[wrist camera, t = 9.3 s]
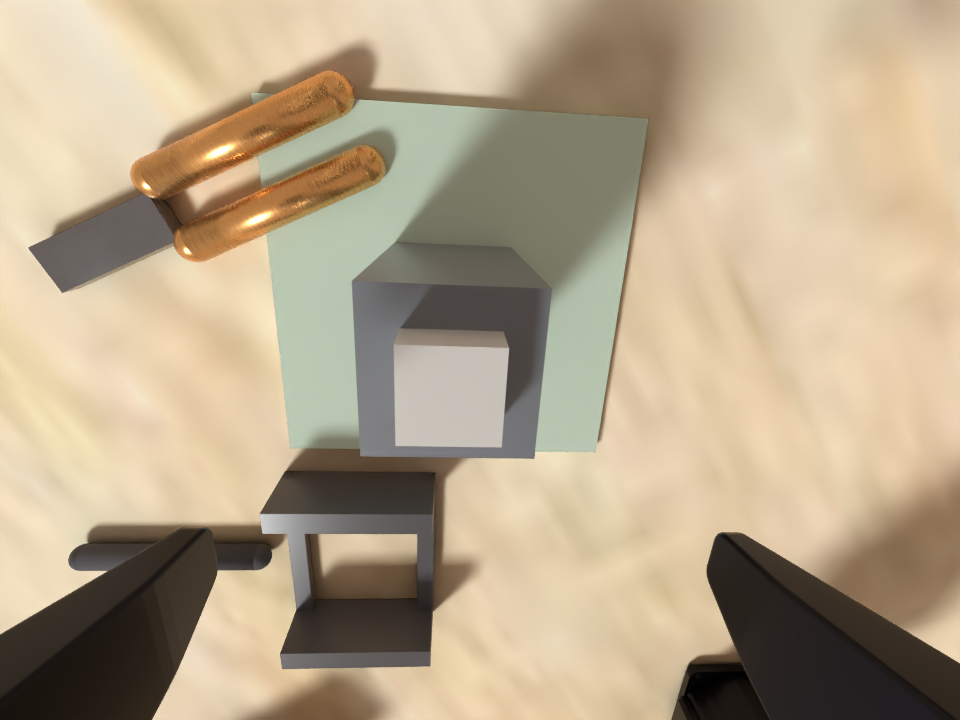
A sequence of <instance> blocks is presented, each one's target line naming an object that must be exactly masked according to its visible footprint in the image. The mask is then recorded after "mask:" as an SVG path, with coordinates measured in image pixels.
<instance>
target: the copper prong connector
mask: <svg viewBox="0 0 960 720" xmlns="http://www.w3.org/2000/svg"><path fill="white" fill-rule="evenodd" d="M354 100H355V96H354V90H353V88H352V85H351V83H350V82H349V81H348V79H347V78H346V77H345V76H343V75H342V74H340V73H339V72H336V71H331V70H329V71H324V72H321V73H319V74H317V75H315V76H313V77H311V78H308V79H306V80H304V81H302V82H300V83H298V84H296V85H294V86H292V87H289V88H287V89H285V90H283V91H281V92H279V93H277V94H275V95H273V96H271V97H268V98H266V99H264V100H262V101H260V102H258V103H256V104H254V105H252V106H249V107H247V108H245V109H243V110H241V111H239V112H237V113H235V114H233V115H231V116H228V117H226V118H224V119H222V120H220V121H218V122H216V123H214V124H212V125H209V126H207V127H205V128H203V129H201V130H199V131H197V132H195V133H193V134H190V135H188V136H186V137H184V138H182V139H180V140H178V141H176V142H174V143H172V144H169V145H167V146H165V147H163V148H161V149H159V150H157V151H155V152H153V153H150V154H148V155H146V156H144V157H142V158H140V159H138V160H137V161H135V163H134V164H133V165H132V167H131V172H130V176H131V180H132V182H133V184H134V186H135V187H136V188H137V189H138V190H139V191H140V192H141V193H142V195H140V196H138V197H136V198H134V199H131V200H129V201H127V202H125V203H123V204H121V205H119V206H116V207H114V208H112V209H110V210H108V211H106V212H104V213H101V214H99V215H97V216H95V217H93V218H91V219H89V220H86V221H84V222H82V223H80V224H78V225H76V226H74V227H71V228H69V229H67V230H65V231H63V232H61V233H59V234H56V235H54V236H52V237H50V238H48V239H46V240H44V241H41V242H39V243H37V244H35V245H33V246H31V247H29V250H30V251H31V252H32V254H33V255H34V256H35V258H36V259H37V260H38V261H39V263H40V264H41V265H42V267H43V268H44V269H45V271H46V272H47V273H48V275H49V276H50V277H51V279H52V280H53V281H54V283H55V284H56V285H57V286H58V288H59V289H60V290H61V292H62V293H64V292H67V291H71V290H75V289H79V288H81V287H83V286H85V285H88V284H90V283H92V282H94V281H96V280H99V279H101V278H103V277H105V276H108V275H110V274H112V273H114V272H116V271H119V270H121V269H123V268H125V267H127V266H130V265H132V264H134V263H136V262H138V261H141V260H143V259H145V258H147V257H149V256H152V255H154V254H156V253H158V252H161V251H163V250H165V249H167V248H169V247H172V246H174V247H175V249H176V251H177V252H178V253H179V255H181V256H182V257H183V258H185V259H187V260H189V261H193V262H203V261H206V260H209V259H211V258H213V257H215V256H218V255H220V254H222V253H224V252H227V251H229V250H231V249H233V248H236V247H238V246H240V245H242V244H245V243H247V242H249V241H251V240H253V239H256V238H258V237H260V236H262V235H265V234H267V233H269V232H271V231H274V230H276V229H278V228H280V227H283V226H285V225H287V224H289V223H292V222H294V221H296V220H298V219H301V218H303V217H305V216H307V215H310V214H312V213H314V212H316V211H318V210H321V209H323V208H325V207H327V206H330V205H332V204H334V203H336V202H339V201H341V200H343V199H345V198H348V197H350V196H352V195H354V194H357V193H359V192H361V191H363V190H366V189H368V188H370V187H372V186H375V185H376V184H378V183H379V182H380V181H381V180H382V179H383V177H384V175H385V171H386V164H385V160H384V157H383V155H382V154H381V153H380V151H378V150H377V149H376V148H375V147H373V146H370V145H366V144H363V145H358V146H355V147H353V148H351V149H348V150H346V151H344V152H342V153H340V154H337V155H335V156H333V157H331V158H329V159H326V160H324V161H322V162H320V163H318V164H316V165H313V166H311V167H309V168H307V169H305V170H302V171H300V172H298V173H296V174H294V175H291V176H289V177H287V178H285V179H283V180H280V181H278V182H276V183H274V184H272V185H269V186H267V187H265V188H263V189H261V190H259V191H256V192H254V193H252V194H250V195H248V196H245V197H243V198H241V199H239V200H237V201H234V202H232V203H230V204H228V205H226V206H223V207H221V208H219V209H217V210H215V211H212V212H210V213H208V214H206V215H204V216H202V217H199V218H197V219H195V220H193V221H191V222H188V223H186V224H184V225H182V226H181V225H180V223H179V221H178V220H177V218H176V217H175V215H174V213H173V212H172V210H171V209H170V207H169V205H168V204H167V202H166V201H165V199H166V198H169V197H171V196H173V195H175V194H178V193H180V192H182V191H184V190H186V189H188V188H191V187H193V186H195V185H197V184H199V183H201V182H204V181H206V180H208V179H210V178H212V177H214V176H216V175H219V174H221V173H223V172H225V171H227V170H229V169H232V168H234V167H236V166H238V165H240V164H242V163H245V162H247V161H249V160H251V159H253V158H255V157H257V156H260V155H262V154H264V153H266V152H268V151H270V150H273V149H275V148H277V147H279V146H281V145H283V144H286V143H288V142H290V141H292V140H294V139H296V138H298V137H301V136H303V135H305V134H307V133H309V132H311V131H314V130H316V129H318V128H320V127H322V126H324V125H327V124H329V123H331V122H333V121H335V120H337V119H339V118H342V117H344V116H346V115H347V114H348V113H349V112H350V111H351V109H352V108H353V105H354Z"/></svg>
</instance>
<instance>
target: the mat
mask: <svg viewBox="0 0 960 720" xmlns="http://www.w3.org/2000/svg"><path fill="white" fill-rule="evenodd" d="M273 95H275V94H266V93H251V97H252V105H254V104H256V103H258V102H260V101H262V100H264V99H266V98H268V97H271V96H273ZM648 120H649V118H634V117H619V116H604V115H588V114H573V113H558V112H542V111H527V110H512V109H496V108H481V107H466V106H450V105H435V104H420V103H404V102H389V101H374V100H358V99H355V100H354V105H353V108H352V109H351V111H350V112H349V113H348V114H347V115H346V116H344V117H342V118H339V119H337V120H335V121H333V122H331V123H329V124H327V125H324V126H322V127H320V128H318V129H316V130H314V131H311V132H309V133H307V134H305V135H303V136H301V137H298V138H296V139H294V140H292V141H290V142H288V143H286V144H283V145H281V146H279V147H277V148H275V149H273V150H270V151H268V152H266V153H264V154H262V155H260V156H258V161H259V170H260V179H261V188H262V189H263V188H265V187H267V186H269V185H272V184H274V183H276V182H278V181H280V180H283V179H285V178H287V177H289V176H291V175H294V174H296V173H298V172H300V171H302V170H305V169H307V168H309V167H311V166H313V165H316V164H318V163H320V162H322V161H324V160H326V159H329V158H331V157H333V156H335V155H337V154H340V153H342V152H344V151H346V150H348V149H351V148H353V147H355V146H358V145H363V144H366V145H370V146H373V147H375V148H376V149H377V150H378V151H380V153H381V154H382V155H383V157H384V160H385V164H386V171H385V175H384V177H383V179H382V180H381V181H380V182H379V183H378V184H376V185H375V186H372V187H370V188H368V189H366V190H363V191H361V192H359V193H357V194H354V195H352V196H350V197H348V198H345V199H343V200H341V201H339V202H336V203H334V204H332V205H330V206H327V207H325V208H323V209H321V210H318V211H316V212H314V213H312V214H310V215H307V216H305V217H303V218H301V219H298V220H296V221H294V222H292V223H289V224H287V225H285V226H283V227H280V228H278V229H276V230H274V231H271V232H269V233H267V242H268V251H269V260H270V269H271V279H272V288H273V297H274V306H275V315H276V324H277V333H278V342H279V351H280V360H281V369H282V378H283V387H284V396H285V405H286V414H287V424H288V433H289V442H290V448H318V449H360V442H359V422H358V402H357V381H356V361H355V340H354V320H353V300H352V280H353V279H354V278H355V277H357V276H358V275H359V274H360V273H361V272H362V271H363V270H364V269H366V268H367V267H368V266H369V265H370V264H371V263H372V262H373V261H374V260H376V259H377V258H378V257H379V256H380V255H381V254H382V253H383V252H385V251H386V250H387V249H388V248H389V247H390V246H391V245H392V244H393V243H395V242H405V243H428V244H450V245H473V246H495V247H511V248H512V249H513V250H514V251H515V252H516V253H517V254H518V255H519V256H520V257H521V258H522V259H523V260H524V261H525V262H526V263H527V264H528V265H529V266H530V267H531V268H532V269H533V270H534V271H535V272H536V273H537V274H538V275H539V276H540V277H541V278H542V279H543V280H544V281H545V282H546V283H547V284H548V285H549V286H550V287H551V288H552V295H551V305H550V314H549V324H548V333H547V343H546V352H545V362H544V371H543V380H542V390H541V399H540V409H539V418H538V428H537V437H536V447H535V451H538V452H596V447H597V441H598V435H599V428H600V422H601V416H602V409H603V403H604V397H605V391H606V384H607V378H608V372H609V366H610V359H611V353H612V347H613V340H614V334H615V328H616V322H617V315H618V309H619V303H620V296H621V290H622V284H623V278H624V271H625V265H626V259H627V252H628V246H629V240H630V234H631V227H632V221H633V215H634V208H635V202H636V196H637V190H638V183H639V177H640V171H641V164H642V158H643V152H644V146H645V139H646V133H647V127H648Z"/></svg>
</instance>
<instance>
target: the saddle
mask: <svg viewBox="0 0 960 720" xmlns="http://www.w3.org/2000/svg"><path fill="white" fill-rule="evenodd" d="M260 520H261V527H262V534H287V535H288V543H289V552H290V560H291V568H292V576H293V584H294V593H295V601H296V609H297V610H296V613H295V615H294V618H293V621H292V623H291V626H290V629H289V631H288V634H287V637H286V639H285V642H284V645H283V647H282V650H281V653H280V657H281V664H282V669H310V668H364V667H418V666H430V661H431V640H432V620H433V576H434V520H435V473H405V472H308V471H285V472H284V474H283V476H282V477H281V479H280V481H279V482H278V484H277V486H276V487H275V489H274V491H273V492H272V494H271V496H270V498H269V499H268V501H267V503H266V504H265V506H264V508H263V509H262V511H261V513H260ZM309 534H417V599H351V600H316V598H315V588H314V578H313V568H312V558H311V548H310V539H309Z"/></svg>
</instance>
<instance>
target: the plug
mask: <svg viewBox="0 0 960 720" xmlns="http://www.w3.org/2000/svg"><path fill="white" fill-rule="evenodd" d="M551 295H552V288H551V287H550V286H549V285H548V284H547V283H546V282H545V281H544V280H543V279H542V278H541V277H540V276H539V275H538V274H537V273H536V272H535V271H534V270H533V269H532V268H531V267H530V266H529V265H528V264H527V263H526V262H525V261H524V260H523V259H522V258H521V257H520V256H519V255H518V254H517V253H516V252H515V251H514V250H513V249H512V248H511V247H495V246H473V245H450V244H428V243H405V242H395V243H393V244H392V245H391V246H390V247H389V248H388V249H387V250H386V251H385V252H383V253H382V254H381V255H380V256H379V257H378V258H377V259H376V260H374V261H373V262H372V263H371V264H370V265H369V266H368V267H367V268H366V269H364V270H363V271H362V272H361V273H360V274H359V275H358V276H357V277H355V278H354V279H353V280H352V300H353V320H354V340H355V361H356V381H357V402H358V422H359V442H360V456H369V457H448V458H528V459H534V456H535V447H536V437H537V428H538V418H539V409H540V399H541V390H542V380H543V371H544V362H545V352H546V343H547V333H548V324H549V314H550V305H551Z"/></svg>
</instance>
